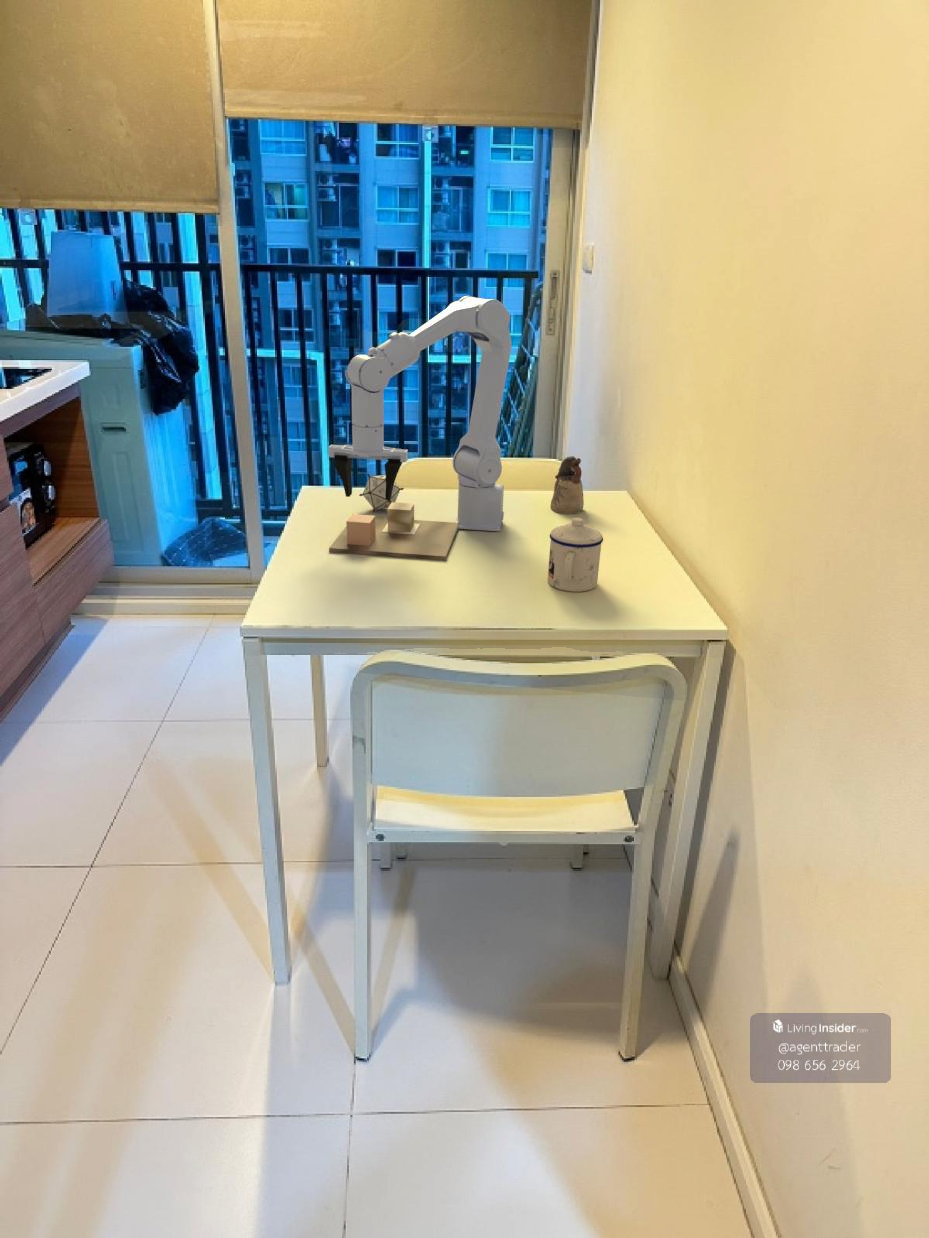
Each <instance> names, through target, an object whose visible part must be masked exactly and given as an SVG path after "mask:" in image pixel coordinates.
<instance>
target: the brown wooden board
mask: <svg viewBox="0 0 929 1238" xmlns="http://www.w3.org/2000/svg"><path fill="white" fill-rule="evenodd" d="M458 527H459V523H455V522H451V521H437V520H422V519H421V520H420V519H414V526H413V528H412V530H411V531H410V532H400V531H388V517H377V516H375V534H376V538H375V540H374V541H373V543H372V544H371V546H366V545H352V544H347V525H346V526H345V527H344V528H343V530H342V531H341V532H340V534H338V536H337V537H336V539H335V540H334V541H333V542H332V544H330V546H329V548H328V552H329V553H338V554H349V555H350V554H353V555H365V556H367V555H369V556H381V557H392V558H406V559H418V560H419V559H421V560H424V559H425V560H433V561H434V560H435V561H447V558H448V556H449V553H450V550H451V548H452V545H453V543H454V541H455V537H456V536H457V533H458V530H459V529H458Z"/></svg>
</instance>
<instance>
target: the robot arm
mask: <svg viewBox="0 0 929 1238" xmlns="http://www.w3.org/2000/svg"><path fill="white" fill-rule="evenodd" d="M510 322H511V314H510V312H509V310H508V309H507V308H506V307H505V305H504V303H502V302H501V301H499V300H498V299H493V298H492V299H487V298H479V297H475V296H472V295H471V296H470V295H466V296H463V297H461V298H460V299H459V300H457V301H456V300H455V301H454V302H451V303H450V304H449V305H448V306H447V307H446V309H444V310H442V311H441V312H440V313H438V314H437V315H435V316H434V317H433V318H431V319H430V320H429V321H427V322H426V323H424V324H422V325H421V326H420V327H419V328H417V329H416V330H414V331H413V332H412V333H410V334H409V333H406V332H403V331H401V332H399V333H398V332H395V331H394V332H392V333H391V334H389V335H388V337H389V339H388V340H386V341H384V342H383V343H381V344H379V345H378V346H376V347H373V346H372V347H370V348H368V349H367V350H368V352H367V354H358V355H356V356H354V357H352V359H351V360H350V361H349V363H348V366H347V369H346V370H345V371H344V373H345V374H344V375H345V378H346V380H347V381H348V383H349V384H350V387H351V424H352V425H351V428H352V429H351V433H352V434H351V436H352V437H351V438H352V444H330V445H329V446H328V458H334V460H333V462H332V464H333V466H334V468H335V470H336V471H337V473H338V475H339V478H340V480H341V483H342V486H343V489H344V493H345V497H348V498H350V497H351V496H352V494H353V483H352V482H353V481H352V469H353V459H363V460H364V459H365V460H376V461H377V460H380V461H387V462H385V464H384V472H385V474H384V475H386V493H385V496H386V500H390V498H391V496H392V490H393V485H394V482H395V481H396V478H397V475H398V473H399V471H400V468H401V467H402V465H403V463H407V461H408V459H409V458H408V457H409V456H408V454H409V450H408V449H402V448H394V447H389V446H384V445H385V443H384V442H385V441H384V440H385V439H384V437H385V436H384V434H385V433H384V432H385V431H384V427H385V425H384V423H385V422H384V421H385V420H384V417H385V416H384V403H385V402H384V389H386V388H387V386H388V384H389V382H390V379H391V378H393V377H394V376H397V374H399V373H400V372H402V371H404V370H406V369H407V368H408V367H411V366H412V365H413V364H414V363H416V362H418V360H419V358H420V354H421V351H423V350H424V349H426V348H428V347H430V346H432V345H433V344H435V343H437V342H439V341H441V340H442V339H444V338H447V337H448V336H450V335H451V334H453V333H455V332H463V333H465V334H466V335H468V336H469V337H471V338H472V339H473V341H474V342H475V344H476V345H477V346H478V349H480V351H481V356H480V363H479V368H478V373H477V379H476V385H475V391H474V397H473V401H472V409H471V413H470V414H471V415H470V419H469V424H468V425H469V427H468V431H467V433H465V435H463V436H462V437H461V438H460V440H459V444H458V448H457V449H456V451H455V453H454V454H453V457H452V468H453V471H454V472H455V473H457V480H458V490H457V491H458V492H457V494H458V495H457V517H456V519H455V522H454V523H459V527H458V530H470V531H471V530H473V531H487V532H489V531H490V532H500V530H501V528H502V527H501V526H502V523H503V521H504V515H505V512H504V509H503V508H504V493H505V492H504V491H505V488H504V487H505V485H504V484H501V483H496V482H497V481H498V480H499V479H500V477H501V474H502V468H503V467H502V460H501V454H502V449H501V447H500V444H499V442H498V441H497V438H496V435H497V429H498V424H499V423H498V422H499V416H500V411H501V408H502V402H503V395H504V390H505V385H506V381H507V376H508V375H507V374H508V369H509V365H510V359H511V353H512V346H513V345H512V340H511V339H512V337H511V333H510ZM395 483H396V482H395Z"/></svg>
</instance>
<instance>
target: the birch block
mask: <svg viewBox="0 0 929 1238" xmlns="http://www.w3.org/2000/svg"><path fill="white" fill-rule="evenodd" d="M387 518H388V531H400V532H410V531H411V530H412V528H413V526H414V520H415V503H410V502H396V501H395V502H392V503H391V504H390V506H389V507H388V508H387Z"/></svg>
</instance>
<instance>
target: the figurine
mask: <svg viewBox="0 0 929 1238" xmlns="http://www.w3.org/2000/svg"><path fill="white" fill-rule="evenodd" d="M581 463H582V460H581V458H579V457H575V456H574V455H569V456H566V457H565V458H564V459H563V460H562V461H561V463H560V465H559V468H558V473H557V474H556V475H555V477H554V478H555V479H556V481H555V483H554V488H553V493H552V498H551V500H550V505H549V506H550V507H549V508H550V510H551V511H552V512H554V513H559V514H562V515H564V514H565V515H575V514H576V513H577V514H580V513H582V512H583V509H584V501H585V500H584V490H583V487H584V486H583V483H582V479H581V478H582V469H581V467H580V464H581ZM581 511H582V512H581Z"/></svg>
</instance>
